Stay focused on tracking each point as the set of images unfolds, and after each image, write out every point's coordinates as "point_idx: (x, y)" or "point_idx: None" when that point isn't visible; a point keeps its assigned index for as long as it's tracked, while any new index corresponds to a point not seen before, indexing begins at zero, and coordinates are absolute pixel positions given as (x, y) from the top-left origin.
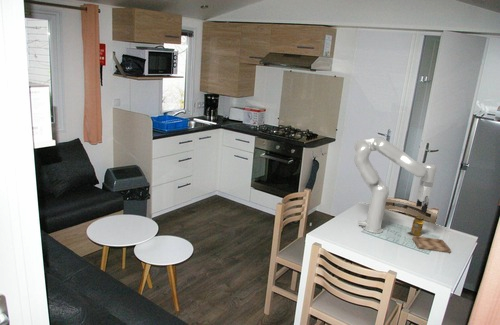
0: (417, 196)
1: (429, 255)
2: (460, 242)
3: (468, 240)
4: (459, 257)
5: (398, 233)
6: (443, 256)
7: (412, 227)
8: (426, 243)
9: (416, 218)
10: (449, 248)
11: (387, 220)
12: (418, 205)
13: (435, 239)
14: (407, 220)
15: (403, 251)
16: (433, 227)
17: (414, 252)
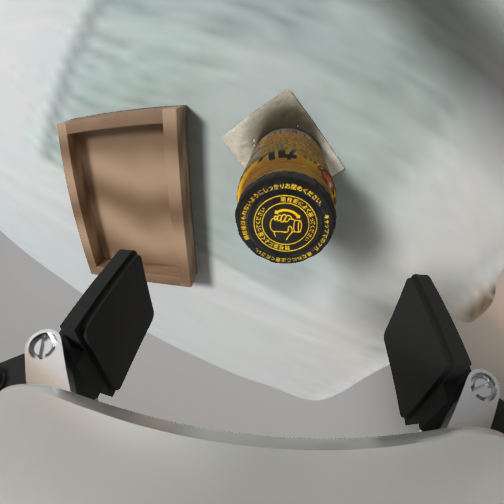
0: (444, 502)
1: (34, 159)
2: (247, 353)
3: (280, 382)
4: (84, 281)
5: (265, 31)
6: (55, 220)
7: (284, 137)
8: (140, 181)
9: (261, 179)
10: (95, 272)
11: (488, 64)
12: (404, 312)
13: (175, 249)
14: (497, 212)
15: (27, 45)
16: None
17: (32, 94)
